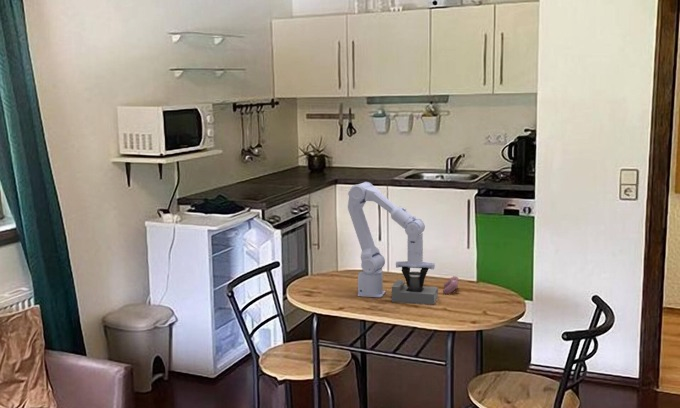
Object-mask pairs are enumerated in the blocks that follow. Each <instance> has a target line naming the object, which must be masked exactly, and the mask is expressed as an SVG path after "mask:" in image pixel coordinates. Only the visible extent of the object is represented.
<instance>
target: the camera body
mask: <svg viewBox="0 0 680 408" xmlns="http://www.w3.org/2000/svg"><path fill="white" fill-rule="evenodd" d="M405 282H406V279H396V280H395V282H393V284H392V286H391V303H401V304H413V305H414V304H417V305H418V304H419V305H428V306H429V305H430V306H435V304H436V303H437V300H438V298H439V287H438V286H424V285H423V288H421V292H412V291H409V287H407V284H405Z"/></svg>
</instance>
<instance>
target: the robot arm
mask: <svg viewBox="0 0 680 408" xmlns="http://www.w3.org/2000/svg"><path fill="white" fill-rule="evenodd" d="M347 194H348V203H347V210H348V214H349V216H350V219H351V222H352V225H353V227H354V231H355V234H356V237H357V240H358V243H359V246H360V249H361V253H360V260H361V263H360V264H361V269H362V271H360V272H359V273H358V277H357V296H358V297H365V298H366V297H368V298H382V297H383V296H384V295H385V293H386V290H384V288H383V285H384V284H383V283H384V281H383V280H384V279H383V278H384V277H383V275H384V274H383V268H384V266H385V263H386V259H385V257H384V256H383V254H382V253H381V251H380V249H379V248H378V247H377V246H376V245H375V241H374V240H373V235H372V233H371V230H370V227H369V224H368V220H367V218H366V216H365V215H366V214H365V212H364V207H365V204H366V203H367V202H374V203H375V204H377V205H378V206H380V207H381V208H383V209H384V210H385V211H387V212H388V213H390V218H391V219H392V220H393V221H394V222H395V223H397V224H398V225H399V226H400V227H402V229H404V231H405V234H406V235H407V261H396V262H395V268H401V273H402V275H403V277H404V278H405V279H404V280H405V282H406V285H407V287H409V272H411V269H420V270H419V272H420V274H421V284H420V287H421V288H423V286H424V284H425V283H424V282H425V279H426V277H427V274H428V272H429V270H432V271H433V270H435V268H436V267H435V266H436V264H435V262H434V263H432V262H426V261H424V260H423V259H424V257H423V256H424V255H423V254H424V252H423V251H424V249H423V248H424V247H423V246H424V245H423V244H424V239H423V237H424V236H423V235H424V234H423V232H424V231H425V228H426V225H425V223H424V221H422V219H420V218H417V217H416V216H415V215H414V216H413V215H412V214H411V213H409V212H408V211H407V208H406V207H402V206H396V205H395V204H394V203H393V202H392V201H391V200H390V199H389V198H387V197H386V195H384V194H383V193H382V192H381V191H380V190H379V189H378V187H376V186H375V185H373V184H372V183H371V182H369V181H364V182H362V183H358V184H354V185H353V186H352V187H350V189H349V191H348V192H347Z"/></svg>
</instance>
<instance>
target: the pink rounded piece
mask: <svg viewBox="0 0 680 408" xmlns="http://www.w3.org/2000/svg"><path fill="white" fill-rule="evenodd" d="M458 281H459V277H457V276H454V275H453V276H452V277H450V279H448V280H447V281H445V282H444V284H443V291H442V294H444V295H448V294H450V293H453V292H454V291H455V289H458V288H459V285H458V284H459V282H458Z"/></svg>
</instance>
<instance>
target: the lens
mask: <svg viewBox="0 0 680 408" xmlns="http://www.w3.org/2000/svg"><path fill="white" fill-rule="evenodd" d="M420 284H421V274H420V271H410V272H409V291H412V292H421V287H420Z"/></svg>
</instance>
